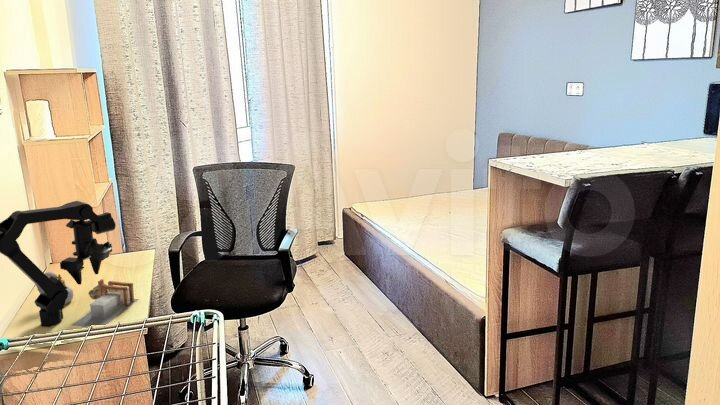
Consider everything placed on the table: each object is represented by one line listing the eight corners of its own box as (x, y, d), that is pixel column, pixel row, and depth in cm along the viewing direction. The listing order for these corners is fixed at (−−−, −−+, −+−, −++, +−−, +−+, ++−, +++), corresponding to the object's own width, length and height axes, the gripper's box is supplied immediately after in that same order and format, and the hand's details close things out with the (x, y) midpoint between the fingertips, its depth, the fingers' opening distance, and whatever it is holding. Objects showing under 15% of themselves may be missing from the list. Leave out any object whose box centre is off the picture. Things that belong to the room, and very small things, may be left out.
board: (101, 330, 170) (101, 328, 169) (71, 327, 171) (71, 325, 171) (139, 301, 191) (139, 299, 191) (112, 298, 192) (112, 296, 192)
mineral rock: (89, 284, 199) (110, 278, 200) (93, 294, 200) (114, 287, 202) (81, 297, 189) (103, 290, 190) (86, 307, 190) (108, 300, 192)
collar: (127, 306, 185) (125, 288, 183) (103, 304, 186) (102, 285, 184) (128, 305, 186) (127, 287, 184) (105, 302, 187) (103, 284, 185)
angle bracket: (132, 302, 188) (131, 284, 186) (109, 299, 189) (108, 282, 188) (134, 301, 189) (132, 283, 187) (111, 298, 190) (109, 280, 189)
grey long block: (105, 318, 176) (103, 304, 174) (91, 317, 176) (89, 303, 175) (130, 300, 190) (129, 287, 189) (117, 298, 191) (115, 285, 189)
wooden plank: (102, 304, 188) (100, 281, 185) (100, 303, 188) (97, 281, 186) (106, 301, 190) (104, 279, 187) (103, 301, 190) (101, 279, 187)
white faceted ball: (70, 307, 184) (66, 277, 181) (40, 309, 182) (36, 278, 179) (77, 298, 191) (73, 269, 188) (49, 299, 190) (45, 270, 186)
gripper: (87, 248, 166) (92, 292, 170) (121, 230, 184) (124, 271, 188) (56, 245, 167) (61, 289, 171) (92, 228, 185) (97, 268, 189)
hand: (88, 279), depth 180 cm, fingers open, 9 cm apart
